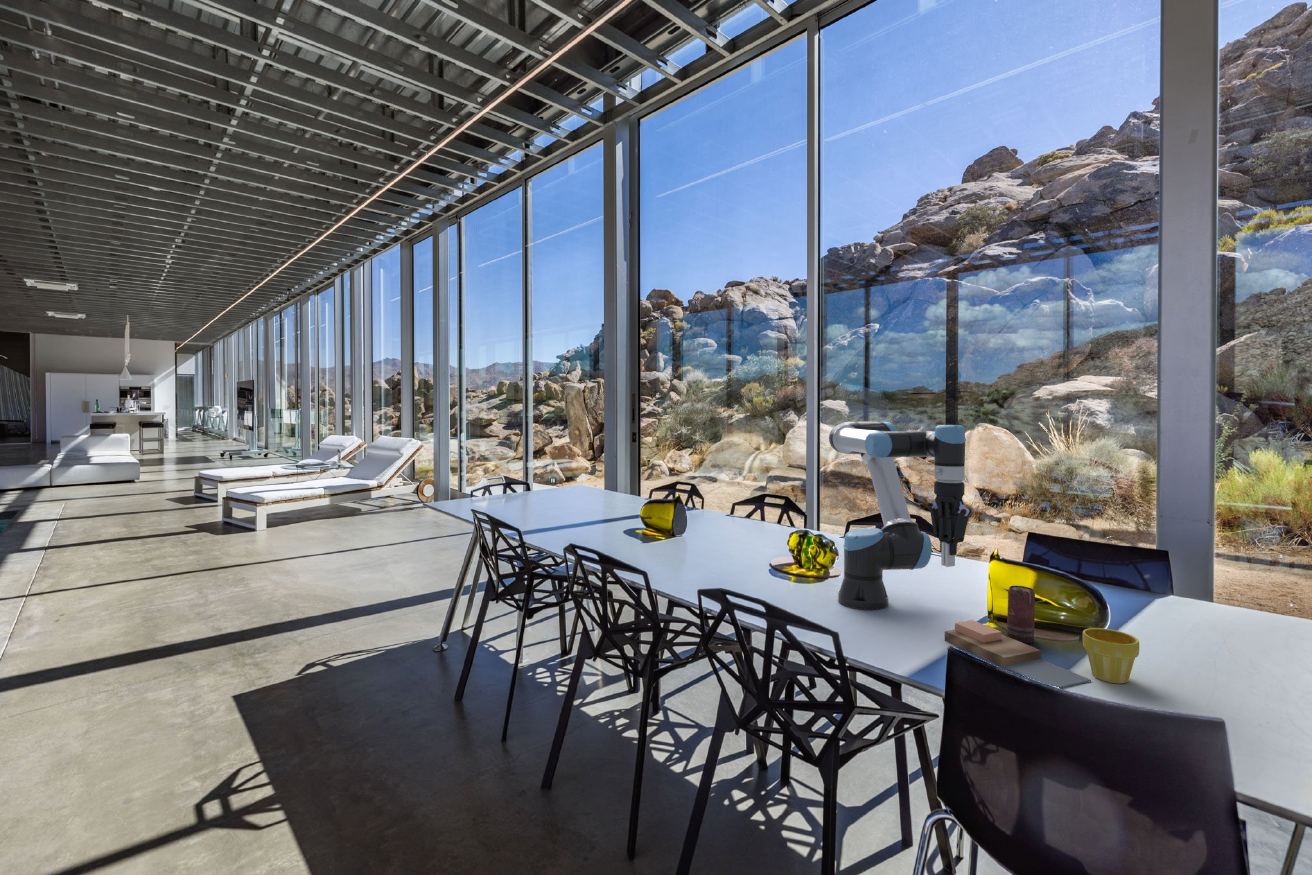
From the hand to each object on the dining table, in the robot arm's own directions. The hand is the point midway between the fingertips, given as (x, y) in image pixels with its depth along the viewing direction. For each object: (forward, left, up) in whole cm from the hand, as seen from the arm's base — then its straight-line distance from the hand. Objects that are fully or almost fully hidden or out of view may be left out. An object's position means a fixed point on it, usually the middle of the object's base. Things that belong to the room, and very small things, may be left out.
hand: (948, 565), depth 163 cm
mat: (+29, 0, -18) cm, 34 cm away
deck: (+14, 0, -18) cm, 23 cm away
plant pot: (+35, +12, -19) cm, 41 cm away
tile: (+10, 0, -16) cm, 19 cm away
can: (+12, +13, -19) cm, 26 cm away
